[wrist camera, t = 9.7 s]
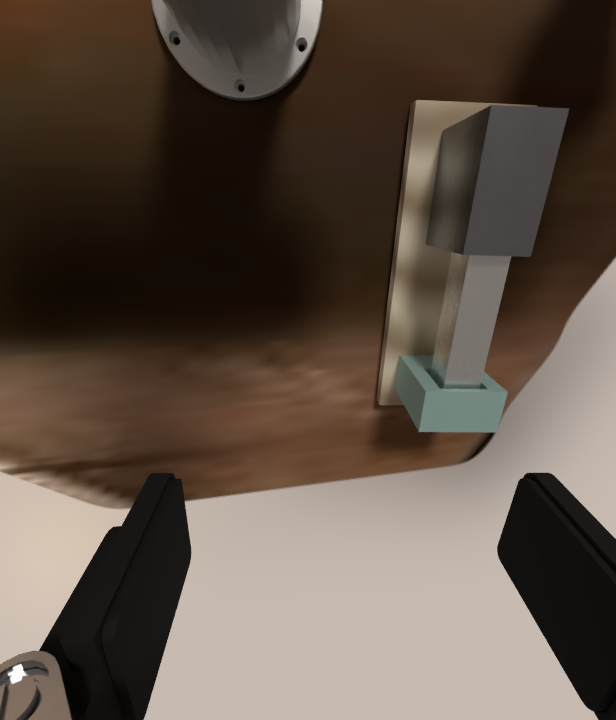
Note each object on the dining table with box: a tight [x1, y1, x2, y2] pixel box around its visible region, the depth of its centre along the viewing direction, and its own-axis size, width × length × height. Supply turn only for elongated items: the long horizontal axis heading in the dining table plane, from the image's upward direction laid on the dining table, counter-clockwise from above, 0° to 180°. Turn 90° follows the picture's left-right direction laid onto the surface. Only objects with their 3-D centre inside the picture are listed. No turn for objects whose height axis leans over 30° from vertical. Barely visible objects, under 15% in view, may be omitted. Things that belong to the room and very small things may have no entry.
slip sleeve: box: [426, 105, 569, 257], centre depth 28 cm, size 9×5×8 cm, turn 178°
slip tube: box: [430, 252, 511, 389], centre depth 30 cm, size 16×3×3 cm, turn 178°
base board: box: [377, 100, 538, 405], centre depth 35 cm, size 28×10×2 cm, turn 178°
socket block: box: [395, 355, 508, 432], centre depth 35 cm, size 4×7×8 cm, turn 88°
